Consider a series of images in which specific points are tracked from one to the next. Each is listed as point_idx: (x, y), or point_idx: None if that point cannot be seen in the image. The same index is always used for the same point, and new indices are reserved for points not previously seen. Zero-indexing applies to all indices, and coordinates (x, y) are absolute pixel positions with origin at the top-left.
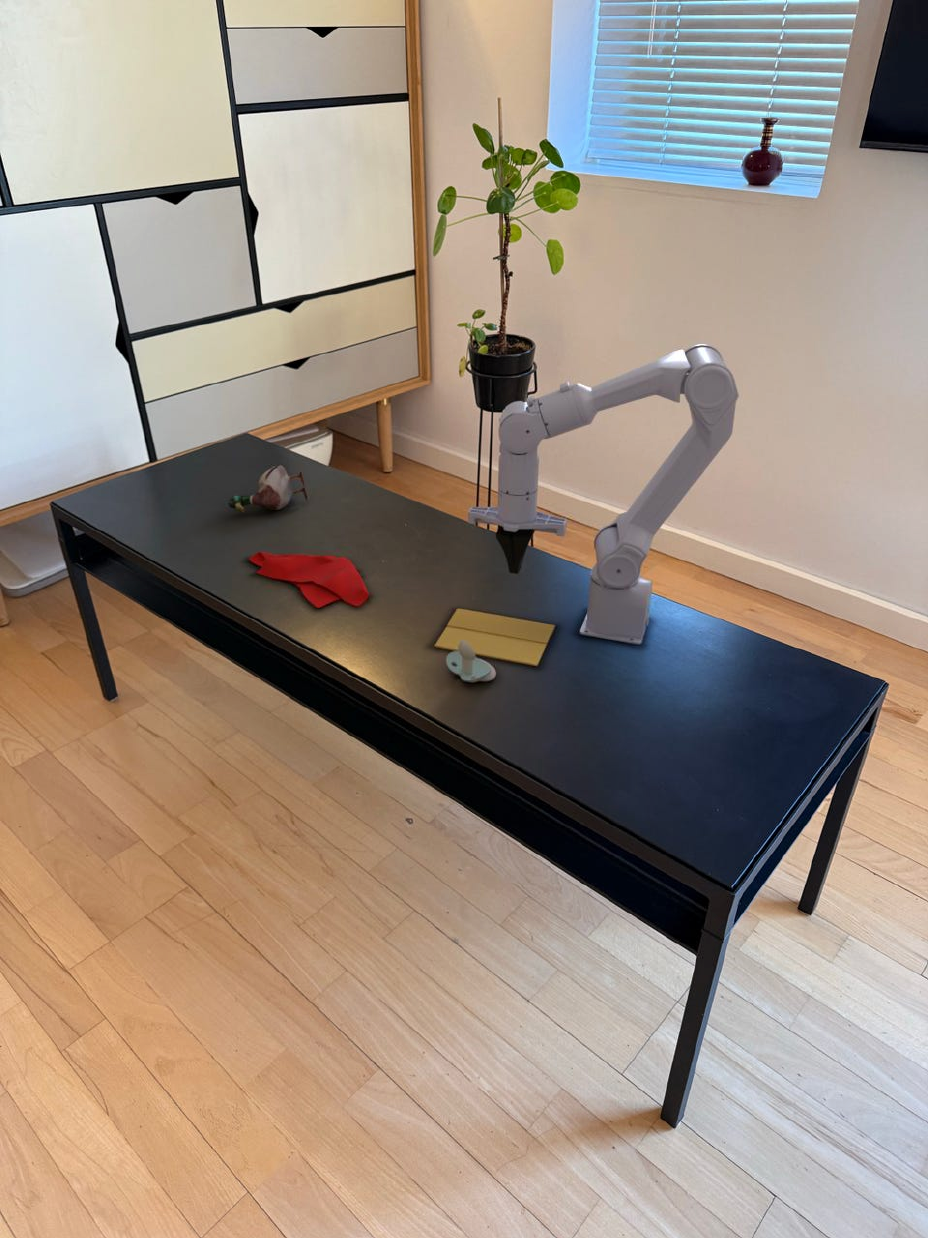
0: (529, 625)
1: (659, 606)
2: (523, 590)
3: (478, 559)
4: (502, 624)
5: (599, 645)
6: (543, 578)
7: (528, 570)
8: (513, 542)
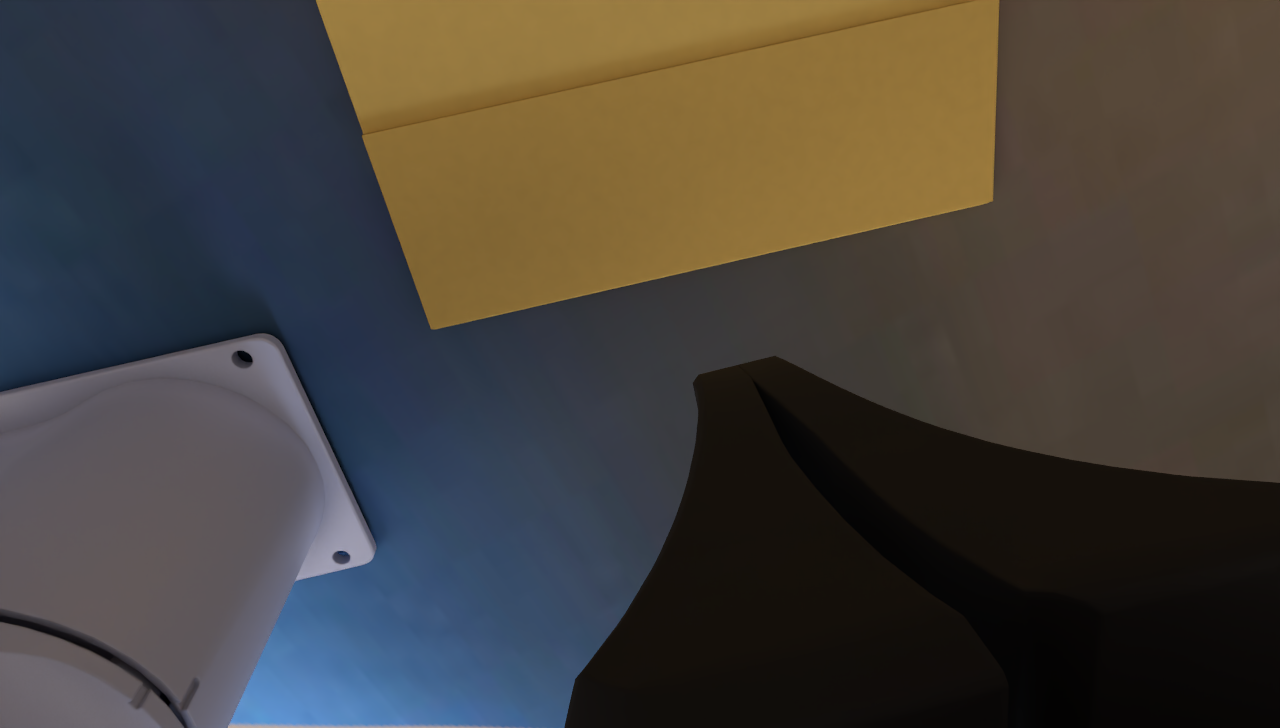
0: (552, 252)
1: None
2: None
3: None
4: (695, 181)
5: (118, 298)
6: None
7: None
8: (899, 569)
